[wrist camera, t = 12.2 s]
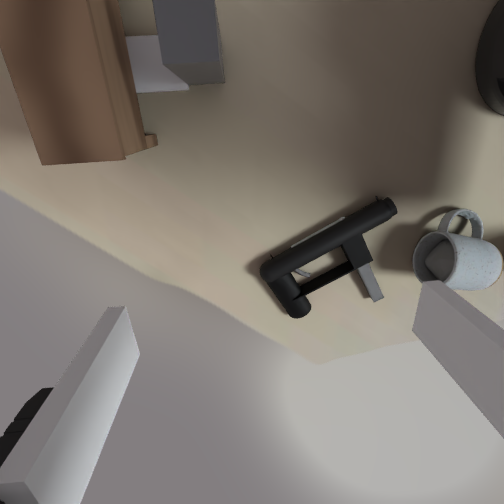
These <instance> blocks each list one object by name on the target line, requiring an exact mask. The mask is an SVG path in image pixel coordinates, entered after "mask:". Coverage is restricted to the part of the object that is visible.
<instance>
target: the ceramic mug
mask: <svg viewBox="0 0 504 504" xmlns="http://www.w3.org/2000/svg"><path fill="white" fill-rule="evenodd" d="M456 215H461V216H463V217H465V218H466V219H469V220H470V222H471V226H472V237H467V236H462V235H458V234H453V233H449V232H448V228H449V226H450V223H451V221H452V219H453V218H454V216H456ZM482 237H483V224H482V221H481V219H480V217H479V216H478V215H477V214H476V213H475V212H473V211H471V210H468V209H457V210H452V211H449V212H448V213H447V214H445V215H444V216H443V218H442V219H441V222H440V224H439V227H438V230H437V231H433V232H430V233H428V234H426V235H425V236H424V237H423V238H421V240H420V241H419V242H418V244H417V246H416V248H415V250H414V253H413V259H412V261H413V270H414V273H415V275H416V277H417V278H418V280H419V281H420V282H421V283H423V282H424V281H436V280H440V281H442V282H443V283H444V284H445V285H447V286H448V287H449V288H451V289H458V290H480V289H485V288H488V287H490V286H492V285H493V284H494V283H495V282H496V281H497V280H498V279H499V278H500V276H501V274H502V271H503V265H504V264H503V257H502V255H501V253H500V251H499V250H498V249H497V248H496V247H495V246H494V245H493V244H491V243H489V242H487V241H485V240H483V239H482Z"/></svg>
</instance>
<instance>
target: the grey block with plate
mask: <svg viewBox="0 0 504 504" xmlns="http://www.w3.org/2000/svg"><path fill="white" fill-rule="evenodd" d="M152 1H153V7H154V14H155V20H156V26H157V32H158V35H146V36H128V37H125V38H126V43H127V48H128V53H129V58H130V63H131V68H132V73H133V78H134V83H135V88H136V93H152V92H168V91H185V90H189V85H199V84H215V83H225V81H224V69H223V57H222V45H221V36H220V30H219V23H218V17H217V10H216V4H215V0H152Z"/></svg>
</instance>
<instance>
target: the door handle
mask: <svg viewBox="0 0 504 504" xmlns="http://www.w3.org/2000/svg"><path fill="white" fill-rule="evenodd" d="M376 199H377V196H376ZM396 214H397V208H396V206H395V204H394V203H393V201H392V200H391V199H390V198H388V197H387V198H385V199H383V200H378V199H377V201H375V202H374V203H372V204H370V205H368V206H366V207H365V208H363V209H361V210H359V211H357V212H356V213H354V214H352V215H350V216H348V217H347V218H345V217H340V219H338V220H336V221H335V222H333V223H331V224H329V225H327V226H326V227H324V228H322V229H320V230H319V231H317V232H315V233H313V234H311V235H310V236H308V237H306V238H304V239H302V240H301V241H299V242H297V243H295V244H293V245H292V246H291V248H290V249H289V250H287V251H285V252H283V253H281V254H280V255H278V256H276V257H274V258H273V257H272V259H271V260H269V261H267V262H265V263H264V264H263V265H262V266H261V268H260V275H261V277H262V279H263V280H265V281H266V282H267V284H268V285H269V287H270V288H271V289H272V291H273V292H274V294H275V295H276V297H277V298H278V299H279V301H280V302H281V304H282V305H283V307H284V308H285V309H286V311H287V312H288V314H289V315H290V316H291V317H292V318H302V317H304V316H306V315H307V314H308V313H309V312H310V310H311V304H310V303H309V301H308V299H307V298H306V296H305V295H307V294H309V293H311V292H313V291H315V290H317V289H319V288H321V287H323V286H325V285H327V284H329V283H330V282H332V281H334V280H336V279H338V278H340V277H342V276H344V275H346V274H348V273H350V272H352V271H354V270H356V269H357V271H358V273H359V275H360V277H361V279H362V281H363V283H364V285H365V287H366V289H367V291H368V293H369V295H370V297H371V299H372V300H373V301H374V302H376V301H378V300H380V299H382V298H384V296H383V294H382V292H381V290H380V287H379V285H378V283H377V281H376V278H375V276H374V274H373V272H372V270H371V267H370V265H369V262H371V261H373V259H372V257H371V254H370V252H369V250H368V247H367V245H366V243H365V241H364V238H363V236H362V234H363V233H365V232H367V231H369V230H371V229H373V228H375V227H376V226H378V225H380V224H382V223H384V222H386V221H388V220H389V219H390V218H391V217H392V216H394V215H396ZM339 246H341V248H342V250H343V252H344V254H345V256H346V258H347V260H348V261H347V262H345V263H343V264H341V265H339V266H337V267H335V268H333V269H331V270H329V271H328V272H326V273H324V274H322V275H320V276H318V277H316V278H314V279H312V280H310V281H309V282H307V283H305V284H303V285H301V286H299V285H298V283H297V282H296V280H295V279H294V277H293V276H292V274H291V272H292V271H295V272H297V273H298V274H300V275H302V276H305V277H308V278H309V277H310V273H307V272H304V271H302V270H300V269H298V268H300V267H302V266H304V265H306V264H307V263H309V262H311V261H313V260H315V259H317V258H319V257H320V256H322V255H324V254H326V253H328V252H330V251H332V250H333V249H335V248H337V247H339ZM270 255H271V254H270ZM271 256H272V255H271Z"/></svg>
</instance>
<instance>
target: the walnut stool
mask: <svg viewBox="0 0 504 504" xmlns="http://www.w3.org/2000/svg"><path fill="white" fill-rule="evenodd" d="M0 48H1V51H2V54H3V56H4V59H5V62H6V65H7V68H8V71H9V73H10V76H11V79H12V82H13V85H14V88H15V90H16V93H17V96H18V99H19V102H20V104H21V107H22V110H23V113H24V116H25V119H26V121H27V124H28V127H29V130H30V133H31V136H32V138H33V141H34V144H35V147H36V150H37V153H38V155H39V158H40V161H41V164H42V165H57V164H72V163H87V162H102V161H117V160H125V159H126V157H125V156H127V155H130V154H133V153H136V152H139V151H142V150H145V149H148V148H151V147H154V146H157V145H158V143H157V137H156V134H153V135H145V133H144V128H143V123H142V118H141V113H140V108H139V103H138V98H137V93H136V88H135V83H134V78H133V73H132V68H131V63H130V58H129V53H128V48H127V43H126V38H125V33H124V28H123V23H122V18H121V13H120V8H119V3H118V0H0Z"/></svg>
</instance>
